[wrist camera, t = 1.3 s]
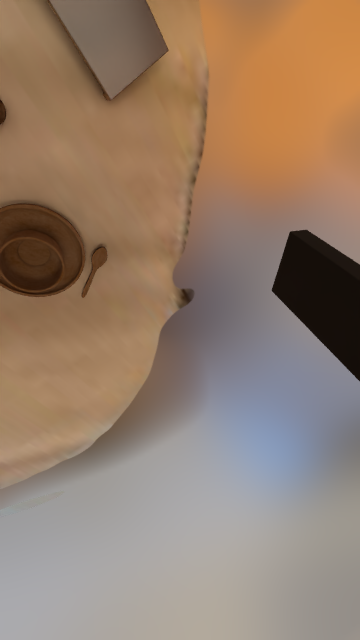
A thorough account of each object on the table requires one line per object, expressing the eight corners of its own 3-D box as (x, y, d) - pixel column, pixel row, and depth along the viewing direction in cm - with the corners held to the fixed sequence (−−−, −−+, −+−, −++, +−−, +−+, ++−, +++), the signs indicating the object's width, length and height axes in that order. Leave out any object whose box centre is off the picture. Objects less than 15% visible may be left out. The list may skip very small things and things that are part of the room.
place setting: (-60, 267, 34) (-78, 292, 30) (-34, 78, 26) (-53, 74, 22) (86, 304, 43) (89, 327, 39) (140, 172, 35) (151, 182, 31)
